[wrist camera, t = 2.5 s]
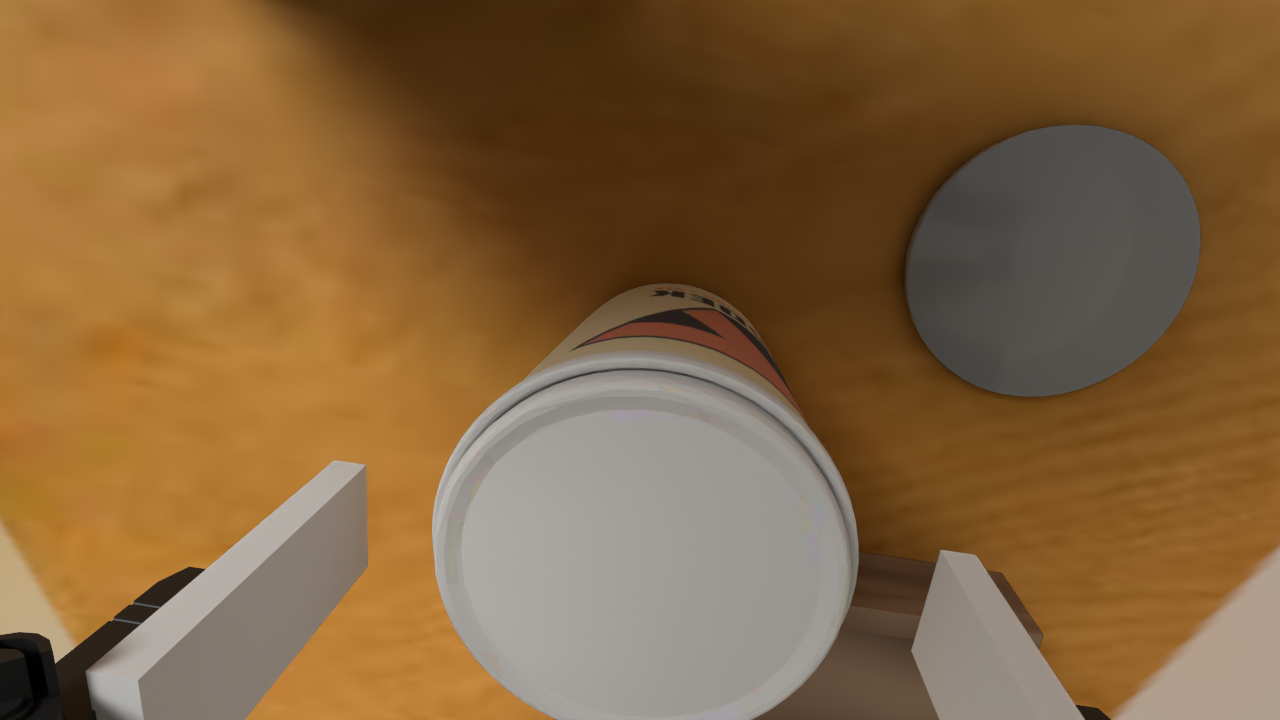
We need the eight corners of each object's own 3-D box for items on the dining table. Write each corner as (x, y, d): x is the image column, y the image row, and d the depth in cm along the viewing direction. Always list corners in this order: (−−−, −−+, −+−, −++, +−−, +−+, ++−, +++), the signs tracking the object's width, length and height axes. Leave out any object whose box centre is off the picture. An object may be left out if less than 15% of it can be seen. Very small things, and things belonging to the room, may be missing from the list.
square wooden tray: (649, 520, 27) (641, 573, 24) (1001, 572, 27) (1043, 634, 23) (615, 777, 32) (604, 851, 29) (915, 828, 31) (940, 910, 28)
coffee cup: (848, 366, 25) (968, 563, 13) (686, 535, 27) (671, 816, 16) (646, 204, 23) (588, 267, 12) (499, 397, 26) (340, 596, 15)
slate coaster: (940, 109, 22) (947, 109, 21) (1232, 142, 21) (1247, 142, 21) (877, 372, 25) (882, 378, 24) (1132, 406, 24) (1143, 413, 23)
